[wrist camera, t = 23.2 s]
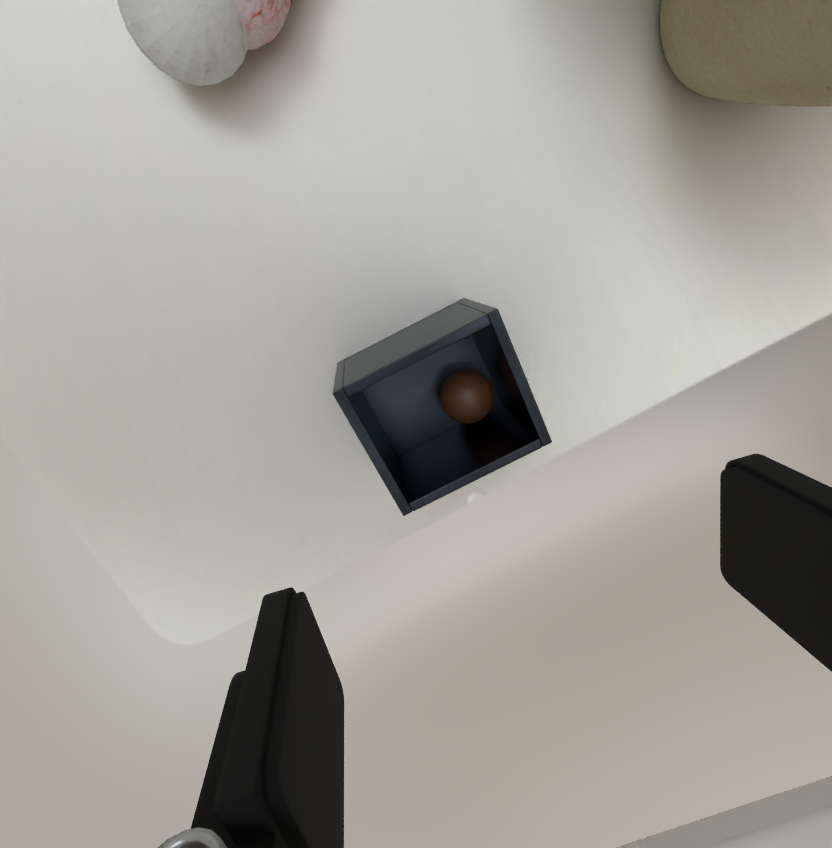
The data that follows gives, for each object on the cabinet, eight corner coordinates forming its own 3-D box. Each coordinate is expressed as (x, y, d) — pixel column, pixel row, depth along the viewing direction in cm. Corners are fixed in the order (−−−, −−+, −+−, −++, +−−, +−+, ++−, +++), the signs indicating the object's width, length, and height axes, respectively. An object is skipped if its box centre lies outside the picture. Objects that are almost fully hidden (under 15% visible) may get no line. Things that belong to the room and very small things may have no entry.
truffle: (435, 431, 26) (490, 438, 26) (440, 385, 24) (499, 392, 24) (440, 399, 28) (489, 405, 28) (445, 356, 26) (498, 362, 26)
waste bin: (393, 462, 29) (403, 516, 23) (337, 362, 26) (332, 393, 20) (510, 404, 29) (552, 442, 22) (464, 297, 26) (497, 308, 20)
